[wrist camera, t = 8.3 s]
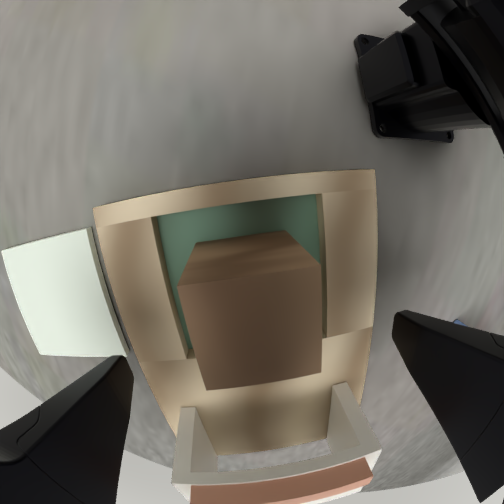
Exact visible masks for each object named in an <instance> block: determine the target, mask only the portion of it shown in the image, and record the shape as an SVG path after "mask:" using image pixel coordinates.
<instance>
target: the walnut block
mask: <svg viewBox="0 0 504 504" xmlns="http://www.w3.org/2000/svg"><path fill="white" fill-rule="evenodd" d="M177 289H178V294H179V298H180V302H181V306H182V310H183V313H184V317H185V321H186V325H187V328H188V332H189V336H190V339H191V343H192V346H193V349H194V353H195V356H196V359H197V363H198V366H199V369H200V372H201V376H202V379H203V382H204V385H205V388H206V391H208V390H219V389H229V388H237V387H245V386H252V385H259V384H266V383H272V382H277V381H283V380H288V379H294V378H299V377H303V376H308V375H313V374H317V373H321V367H322V279H321V265H320V264H319V263H318V262H317V261H316V260H315V259H314V258H313V257H312V256H311V255H310V254H309V253H308V252H307V251H306V250H305V249H304V248H303V247H302V246H301V245H300V244H299V243H298V242H297V241H296V240H295V239H294V238H293V237H292V236H291V235H290V234H289V233H288V232H287V231H286V230H282V231H274V232H267V233H260V234H252V235H245V236H238V237H231V238H224V239H217V240H211V241H204V242H197V243H195V246H194V248H193V250H192V252H191V255H190V257H189V259H188V261H187V264H186V266H185V268H184V271H183V273H182V275H181V277H180V280H179V282H178V285H177Z"/></svg>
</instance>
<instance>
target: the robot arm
mask: <svg viewBox="0 0 504 504" xmlns="http://www.w3.org/2000/svg"><path fill="white" fill-rule="evenodd" d="M398 8H400V9H401V10H402V11H403V12H404V13H405V14H406V15H407V16H408V17H409V16H410V17H411V18H412V19H413V20H414V21H415V23H413V24H412V25H410V26H408V27H407V28H405V29H404V30H402V31H401V32H399V31H395V32H394V33H393V34H391V35H390V36H388V37H387V38H385V39H384V38H379V37H374V36H370V35H364V34H360V35H358V36H357V37H356V38H355V45H356V49H357V52H358V56H359V59H358V63H359V67H360V72H361V76H362V81H363V86H364V91H365V96H366V99H367V100H368V103H369V109H370V115H371V122H372V129H373V132H374V133H375V135H376V136H378V137H380V138H396V139H411V140H423V141H433V142H442V143H451V142H453V139H454V135H453V130H460V129H473V128H492V130H493V132H494V134H495V136H496V138H497V140H498V143H499V145H500V147H501V149H502V151H503V154H504V0H407V1H406V2H405V3H404V4H402V5H401V6H400V7H398ZM361 40H363V41H364V42H365V43H366V44H364V43H363V42H362V41H361ZM380 125H381V126H382V127H383V129H384V132H382V131H381V130H380ZM447 136H448V137H447ZM392 338H393V341H394V343H395V345H396V347H397V349H398V350H399V352H400V354H401V357H402V359H403V361H404V363H405V365H406V367H407V369H408V371H409V372H410V374H411V376H412V377H413V379H414V381H415V382H416V384H417V385H418V387H419V389H420V390H421V392H422V394H423V395H424V397H425V399H426V400H427V402H428V404H429V405H430V407H431V409H432V410H433V412H434V414H435V416H436V417H437V419H438V421H439V423H440V424H441V426H442V428H443V430H444V432H445V433H446V435H447V437H448V439H449V441H450V443H451V445H452V446H453V448H454V450H455V452H456V454H457V456H458V458H459V460H460V462H461V464H462V466H463V468H464V470H465V472H466V474H467V477H468V479H469V481H470V483H471V485H472V487H473V490H474V492H475V494H476V496H477V499H478V500H479V502H480V503H481V502H483V501H484V500H485V499H487V498H488V497H489V496H490V495H492V494H493V493H494V492H496V491H497V490H498V489H499V488H501V487H502V486H503V485H504V336H502V335H498V334H494V333H489V332H486V331H482V330H478V329H475V328H471V327H467V326H463V325H460V324H456V323H452V322H448V321H445V320H441V319H437V318H434V317H430V316H426V315H423V314H419V313H416V312H412V311H408V310H403V311H400V312H397V313H396V314H395V316H394V322H393V329H392ZM133 383H134V376H133V373H132V371H131V369H130V366H129V364H128V362H127V360H126V358H125V357H124V356H123V355H112V356H110V357H109V358H108V359H106V360H105V361H103V362H102V363H100V364H99V365H97V366H96V367H95V368H93V369H92V370H90V371H89V372H87V373H86V374H84V375H83V376H82V377H80V378H79V379H77V380H76V381H74V382H73V383H71V384H70V385H69V386H67V387H66V388H64V389H63V390H61V391H60V392H58V393H57V394H56V395H54V396H53V397H51V398H50V399H48V400H47V401H45V402H44V403H43V404H41V406H38V407H37V408H35V409H34V410H32V411H31V412H29V413H28V414H26V415H25V416H23V417H21V418H20V419H18V420H16V421H15V422H13V423H11V424H9V425H8V426H6V427H4V428H2V429H1V430H0V504H116V496H117V488H118V481H119V474H120V467H121V461H122V455H123V450H124V444H125V439H126V434H127V429H128V424H129V419H130V411H131V401H132V392H133ZM502 504H504V500H503V503H502Z"/></svg>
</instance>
